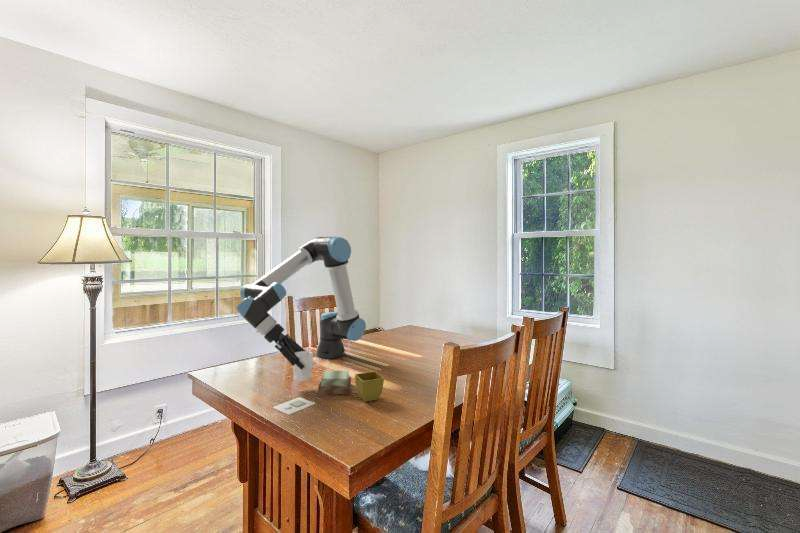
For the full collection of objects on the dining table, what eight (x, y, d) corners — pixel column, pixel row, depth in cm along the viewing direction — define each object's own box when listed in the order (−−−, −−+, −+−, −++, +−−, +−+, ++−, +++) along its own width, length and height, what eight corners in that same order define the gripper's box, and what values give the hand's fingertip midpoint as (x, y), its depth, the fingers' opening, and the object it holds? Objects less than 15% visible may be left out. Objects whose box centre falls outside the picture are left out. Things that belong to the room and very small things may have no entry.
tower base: (318, 394, 142) (318, 379, 142) (322, 383, 154) (322, 369, 153) (349, 394, 143) (349, 379, 143) (350, 383, 155) (351, 369, 154)
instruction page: (299, 397, 139) (299, 396, 139) (315, 403, 133) (315, 402, 133) (272, 407, 129) (272, 406, 129) (288, 415, 124) (288, 414, 124)
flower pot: (362, 405, 133) (362, 381, 133) (353, 396, 141) (354, 373, 141) (384, 401, 137) (384, 378, 137) (374, 393, 145) (375, 371, 145)
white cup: (306, 373, 153) (306, 350, 152) (316, 378, 147) (316, 354, 146) (288, 378, 147) (289, 353, 146) (298, 383, 141) (298, 358, 141)
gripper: (270, 330, 155) (308, 367, 157) (255, 342, 135) (299, 385, 137) (283, 318, 155) (321, 355, 157) (270, 328, 135) (314, 371, 137)
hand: (311, 369), depth 147 cm, fingers closed on white cup, 8 cm apart
